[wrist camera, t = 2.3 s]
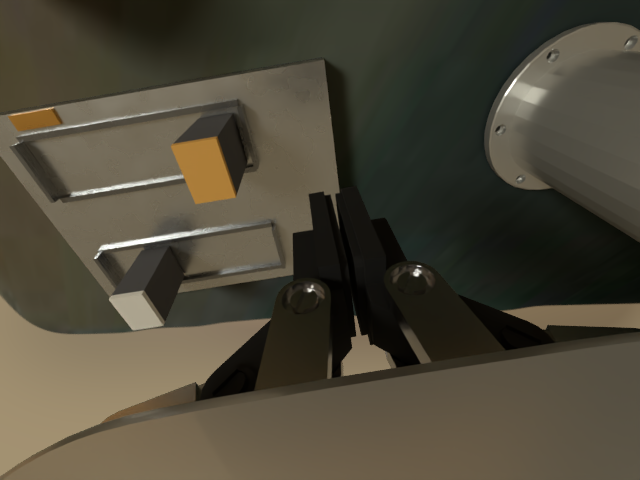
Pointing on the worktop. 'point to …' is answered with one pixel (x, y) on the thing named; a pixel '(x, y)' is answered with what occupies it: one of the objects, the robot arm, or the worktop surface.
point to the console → (167, 179)
